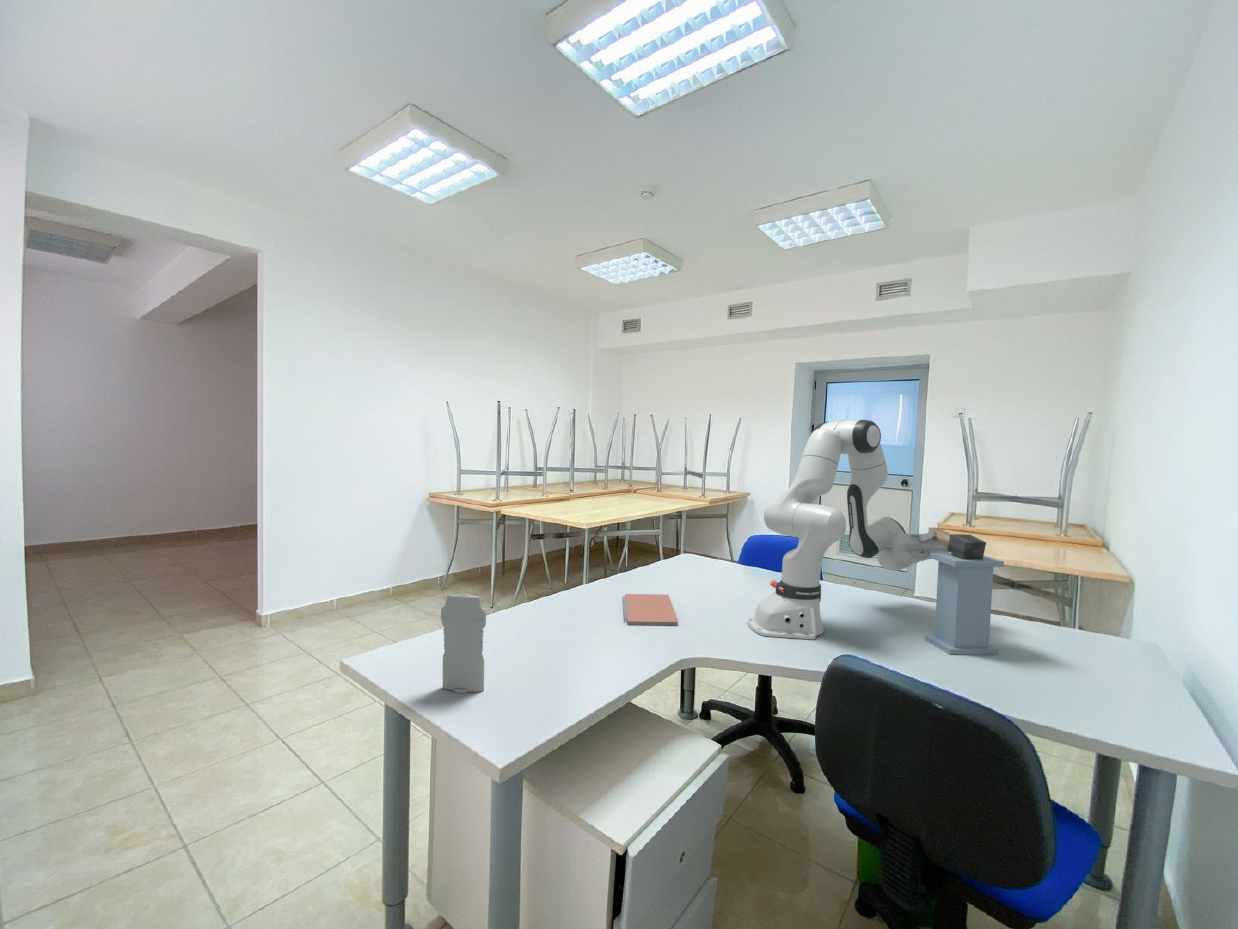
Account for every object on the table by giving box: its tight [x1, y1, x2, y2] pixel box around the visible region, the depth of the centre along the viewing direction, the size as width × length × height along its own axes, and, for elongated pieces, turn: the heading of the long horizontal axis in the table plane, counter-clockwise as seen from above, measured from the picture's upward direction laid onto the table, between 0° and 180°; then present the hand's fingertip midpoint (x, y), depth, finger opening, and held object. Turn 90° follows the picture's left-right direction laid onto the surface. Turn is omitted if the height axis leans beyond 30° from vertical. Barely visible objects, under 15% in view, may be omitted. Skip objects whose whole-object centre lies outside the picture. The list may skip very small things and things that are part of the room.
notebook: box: [621, 593, 679, 626], centre depth 169 cm, size 27×17×2 cm, turn 1°
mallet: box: [927, 527, 987, 559], centre depth 147 cm, size 6×17×5 cm, turn 4°
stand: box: [924, 552, 1005, 656], centre depth 143 cm, size 14×10×26 cm
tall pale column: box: [440, 593, 487, 694], centre depth 114 cm, size 11×4×22 cm, turn 83°
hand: (941, 534), depth 152 cm, fingers closed on mallet, 3 cm apart
